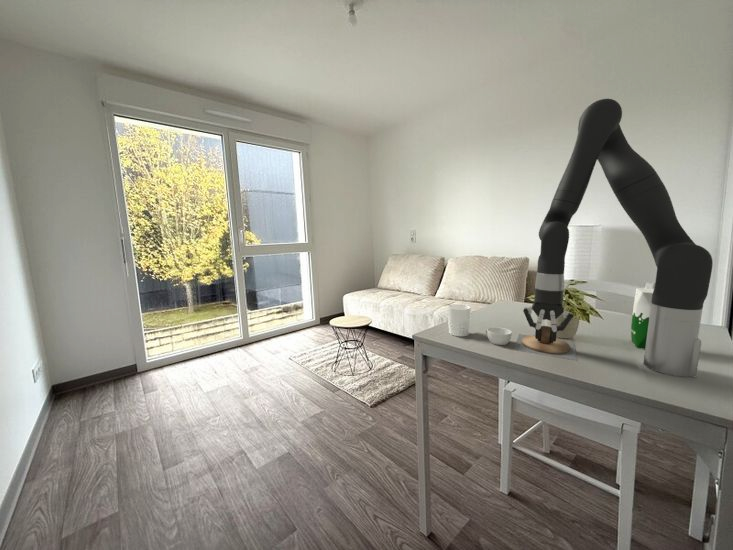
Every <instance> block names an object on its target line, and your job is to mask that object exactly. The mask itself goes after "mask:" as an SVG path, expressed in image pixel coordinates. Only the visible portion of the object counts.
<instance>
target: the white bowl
mask: <svg viewBox="0 0 733 550" xmlns="http://www.w3.org/2000/svg"><path fill="white" fill-rule="evenodd" d="M512 332H513V331H512V330H510V329H508V328H505V327H498V326H492V327H488V328H487V329H485V334H486V336H487V338H488V340H489V342H490V343H491V344H494V345H495V346H496V345H498V346H506V345H507V344H509V343H510V341H511V339H512Z"/></svg>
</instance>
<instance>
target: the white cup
mask: <svg viewBox="0 0 733 550" xmlns="http://www.w3.org/2000/svg"><path fill="white" fill-rule="evenodd" d="M471 308H472V307H471V306H469V305H466V304H463V303H462V304H460V303H455V304H454V303H452V304H449V305H447V323H448V334H449V333H450V334H449V335H451V336H454V337H466V336H468V335H469V330H470V329H469V328H470V322H471V320H470V319H471V311H472V310H471Z"/></svg>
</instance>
